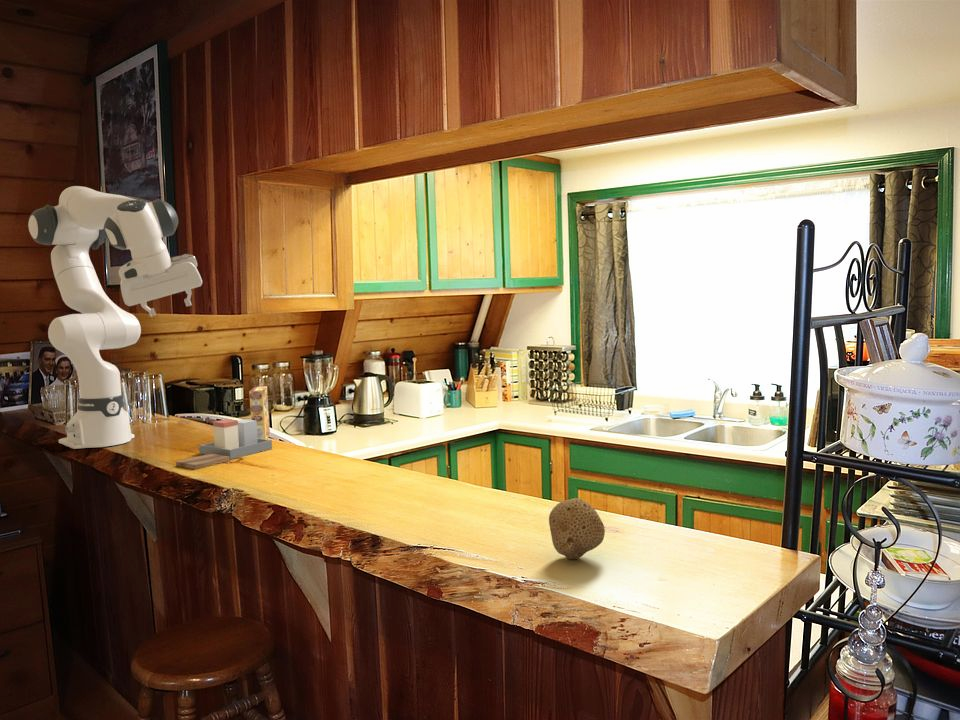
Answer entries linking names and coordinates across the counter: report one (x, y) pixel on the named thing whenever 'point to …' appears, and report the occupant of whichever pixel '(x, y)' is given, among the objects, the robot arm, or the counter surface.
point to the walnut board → (202, 461)
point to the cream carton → (226, 434)
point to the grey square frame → (236, 449)
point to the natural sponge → (575, 528)
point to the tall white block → (247, 432)
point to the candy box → (260, 411)
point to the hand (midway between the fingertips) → (171, 310)
